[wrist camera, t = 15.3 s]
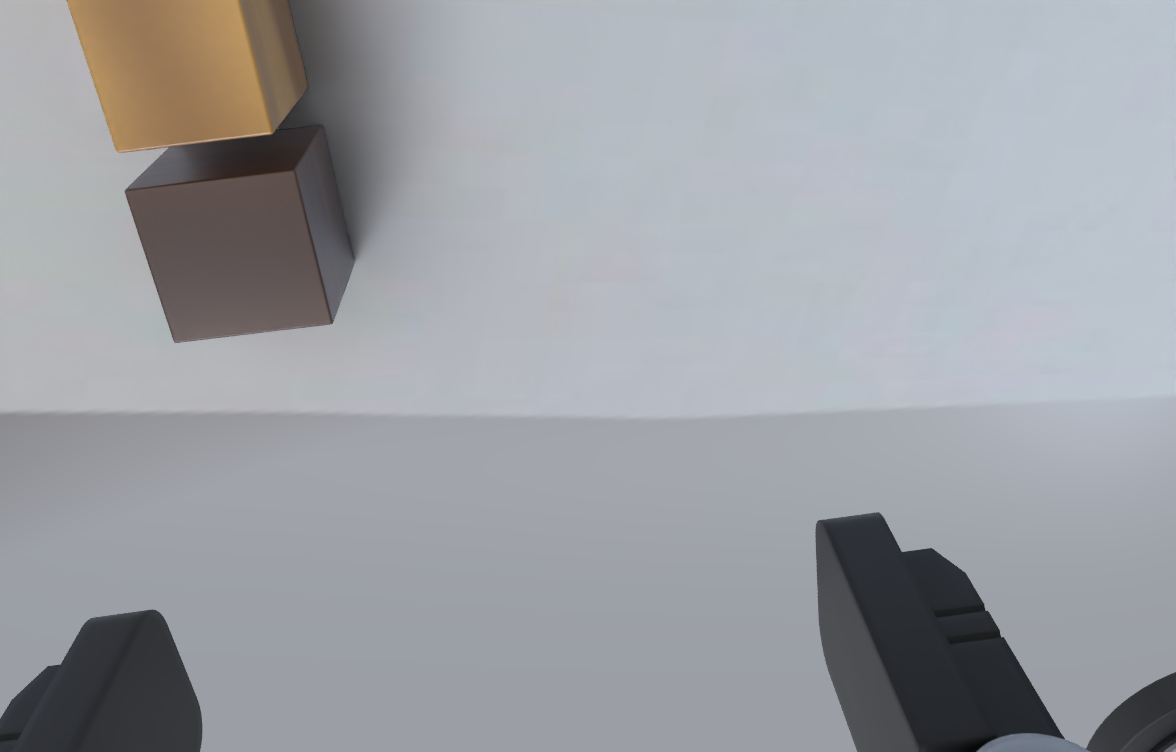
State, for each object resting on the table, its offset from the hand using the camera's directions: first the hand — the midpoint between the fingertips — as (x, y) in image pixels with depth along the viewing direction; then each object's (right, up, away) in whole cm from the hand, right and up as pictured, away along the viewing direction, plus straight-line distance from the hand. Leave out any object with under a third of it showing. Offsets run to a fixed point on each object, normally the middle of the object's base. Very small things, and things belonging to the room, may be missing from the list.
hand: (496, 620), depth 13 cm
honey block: (-9, +15, +16) cm, 24 cm away
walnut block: (-9, +8, +20) cm, 23 cm away
